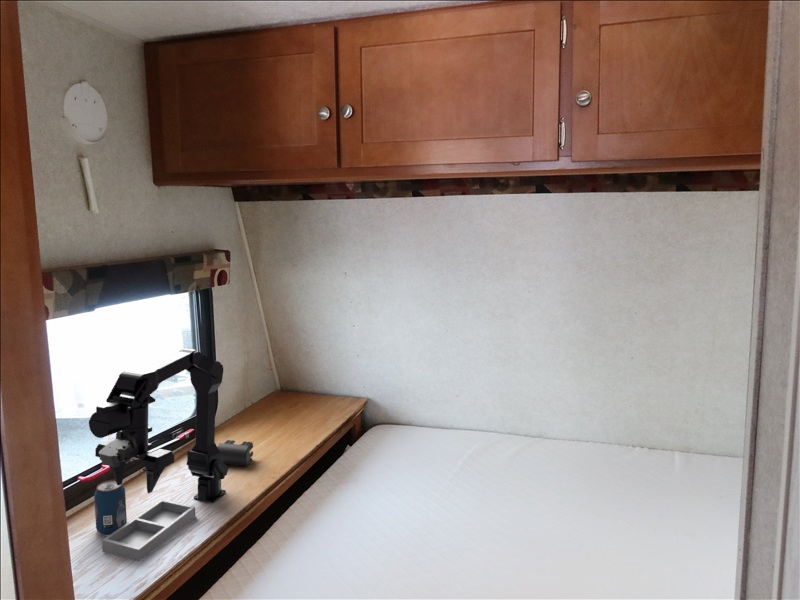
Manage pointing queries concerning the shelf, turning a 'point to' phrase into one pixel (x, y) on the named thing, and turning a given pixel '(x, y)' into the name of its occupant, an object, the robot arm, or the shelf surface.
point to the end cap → (236, 453)
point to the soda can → (110, 507)
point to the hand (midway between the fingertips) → (134, 488)
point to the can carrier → (148, 530)
